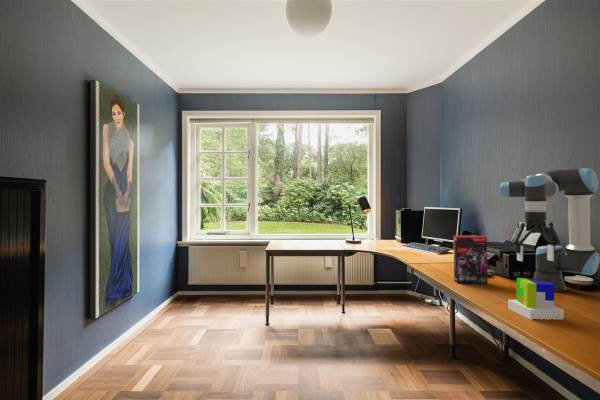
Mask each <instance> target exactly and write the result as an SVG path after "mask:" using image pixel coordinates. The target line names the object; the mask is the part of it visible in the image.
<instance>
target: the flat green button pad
mask: <svg viewBox="0 0 600 400" xmlns="http://www.w3.org/2000/svg"><path fill="white" fill-rule="evenodd" d="M492 270H493V269H488V268H487V275H488V277H492V276H493V275H494V274H495V273H494V271H495V270H493V271H492Z"/></svg>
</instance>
